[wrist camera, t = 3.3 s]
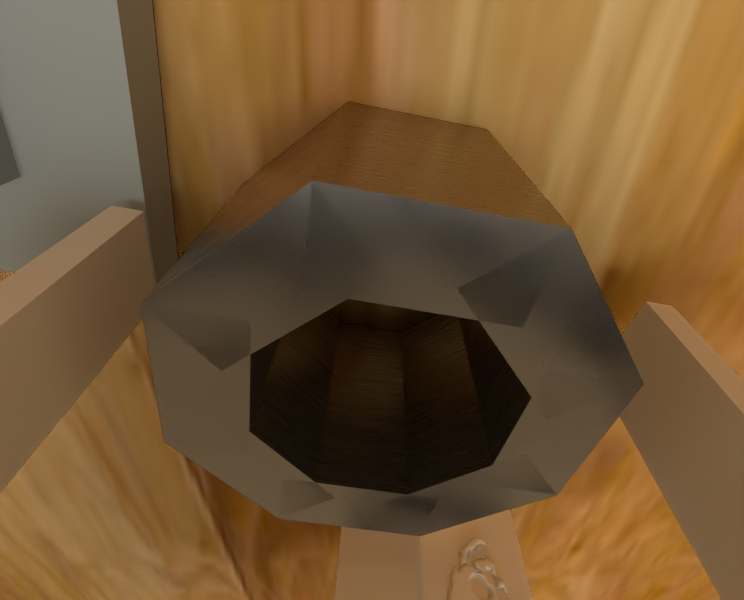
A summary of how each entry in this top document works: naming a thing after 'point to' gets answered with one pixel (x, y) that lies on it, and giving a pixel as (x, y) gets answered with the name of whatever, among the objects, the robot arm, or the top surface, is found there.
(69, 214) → the shaft stand
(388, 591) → the jar
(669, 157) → the top surface
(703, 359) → the robot arm
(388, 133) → the tube
